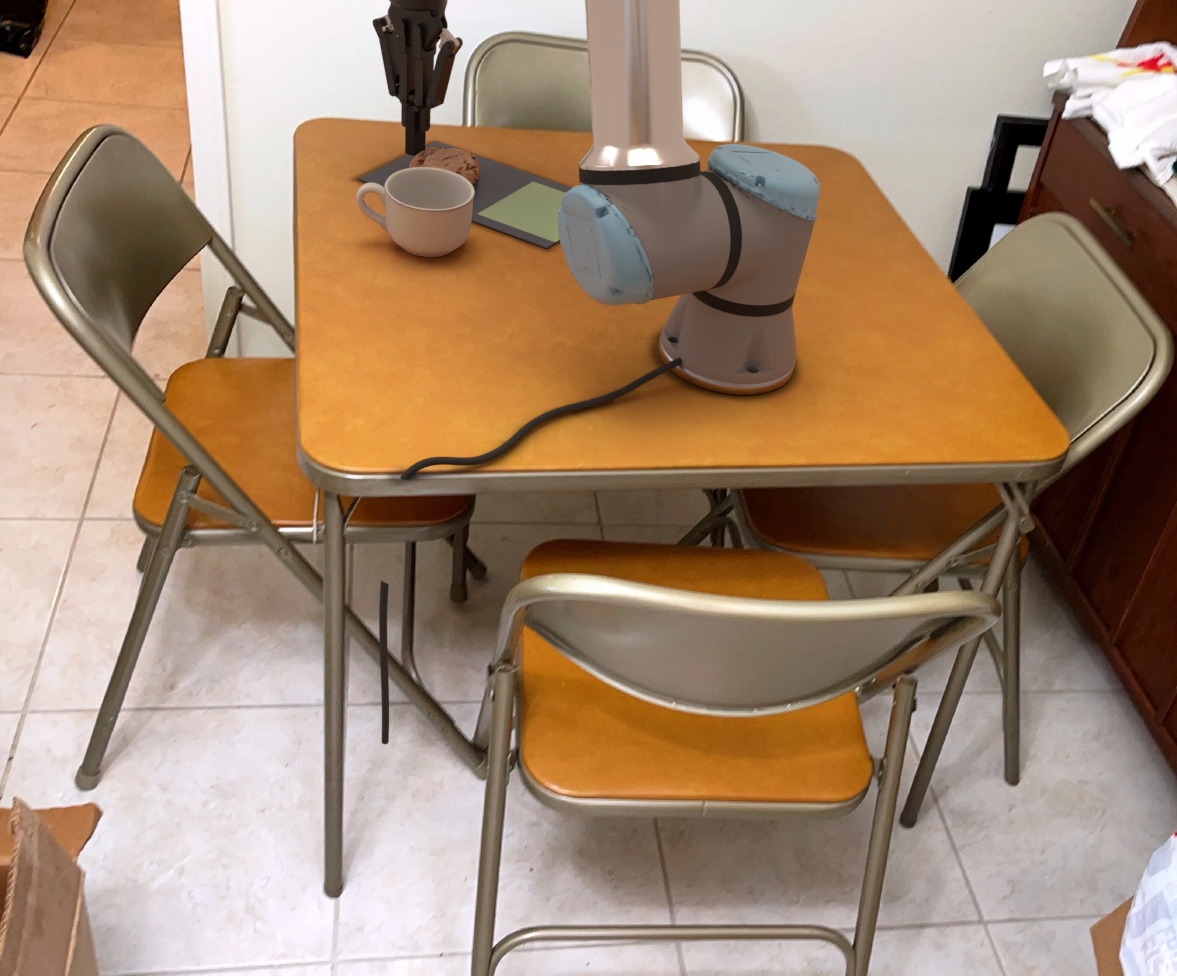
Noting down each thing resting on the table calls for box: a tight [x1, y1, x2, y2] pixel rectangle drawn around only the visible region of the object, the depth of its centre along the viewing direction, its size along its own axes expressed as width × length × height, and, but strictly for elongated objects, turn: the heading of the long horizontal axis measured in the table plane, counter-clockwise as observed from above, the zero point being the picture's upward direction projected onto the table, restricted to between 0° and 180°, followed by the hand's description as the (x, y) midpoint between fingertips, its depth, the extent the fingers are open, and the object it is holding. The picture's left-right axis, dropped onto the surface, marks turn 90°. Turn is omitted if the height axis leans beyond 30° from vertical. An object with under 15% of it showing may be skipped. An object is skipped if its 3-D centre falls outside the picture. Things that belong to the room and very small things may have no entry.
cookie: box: [409, 146, 480, 186], centre depth 154 cm, size 10×11×3 cm
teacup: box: [355, 167, 475, 258], centre depth 136 cm, size 14×11×8 cm
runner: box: [357, 140, 573, 250], centre depth 153 cm, size 18×30×1 cm, turn 61°
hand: (415, 152), depth 156 cm, fingers closed
